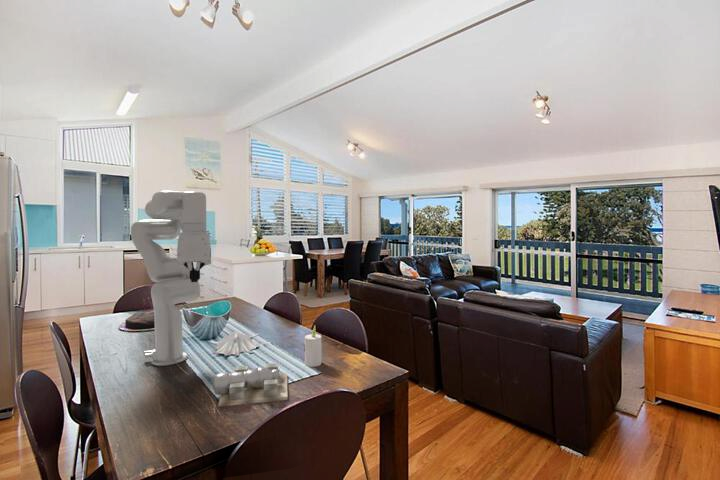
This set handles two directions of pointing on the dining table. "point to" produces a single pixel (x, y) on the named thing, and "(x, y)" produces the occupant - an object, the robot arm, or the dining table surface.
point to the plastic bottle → (243, 379)
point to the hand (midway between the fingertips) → (194, 281)
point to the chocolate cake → (139, 322)
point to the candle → (312, 349)
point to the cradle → (256, 390)
